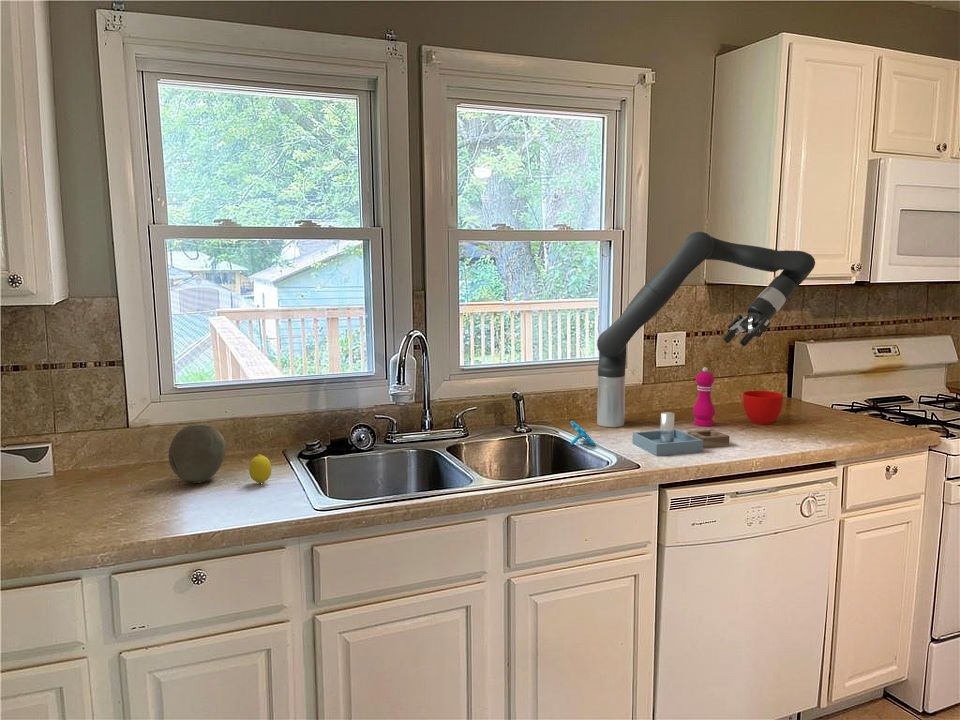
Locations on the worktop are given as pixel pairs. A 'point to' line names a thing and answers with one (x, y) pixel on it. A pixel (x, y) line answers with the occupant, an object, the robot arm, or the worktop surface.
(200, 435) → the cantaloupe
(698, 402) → the pepper mill
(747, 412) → the ceramic cup
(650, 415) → the worktop surface
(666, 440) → the pin
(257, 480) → the lemon
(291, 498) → the worktop surface
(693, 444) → the parts tray
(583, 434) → the blue branched flat part
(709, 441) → the socket block
